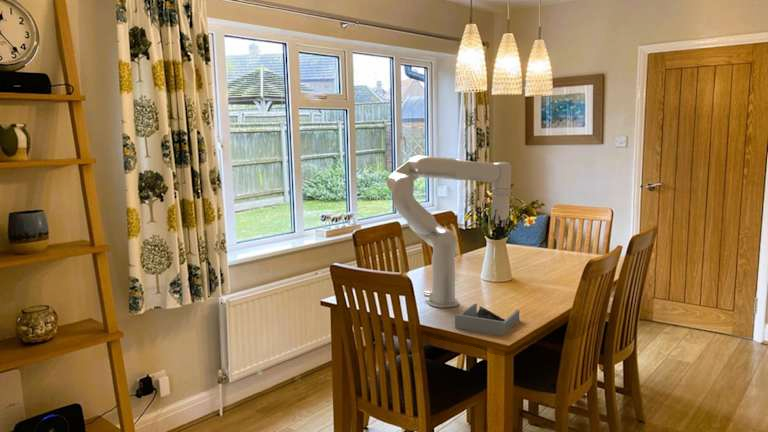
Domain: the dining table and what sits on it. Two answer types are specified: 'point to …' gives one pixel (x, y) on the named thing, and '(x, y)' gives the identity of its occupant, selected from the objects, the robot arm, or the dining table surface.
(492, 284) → the dining table surface
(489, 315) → the chocolate cake
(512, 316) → the box
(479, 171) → the robot arm
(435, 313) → the dining table surface
